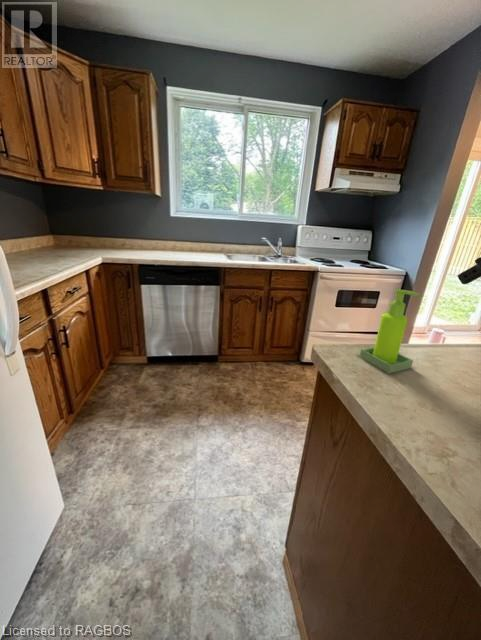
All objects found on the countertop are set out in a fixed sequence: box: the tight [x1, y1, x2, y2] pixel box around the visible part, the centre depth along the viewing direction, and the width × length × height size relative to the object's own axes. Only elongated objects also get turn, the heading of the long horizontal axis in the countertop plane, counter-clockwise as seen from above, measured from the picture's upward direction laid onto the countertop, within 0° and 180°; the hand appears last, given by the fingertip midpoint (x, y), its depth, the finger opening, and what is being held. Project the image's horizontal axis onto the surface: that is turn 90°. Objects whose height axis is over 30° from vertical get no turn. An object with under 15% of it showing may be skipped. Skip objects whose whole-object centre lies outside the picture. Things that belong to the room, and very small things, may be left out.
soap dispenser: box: [373, 288, 421, 365], centre depth 71 cm, size 6×7×20 cm
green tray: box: [359, 346, 414, 374], centre depth 74 cm, size 10×8×2 cm
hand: (473, 279), depth 54 cm, fingers open, 8 cm apart
